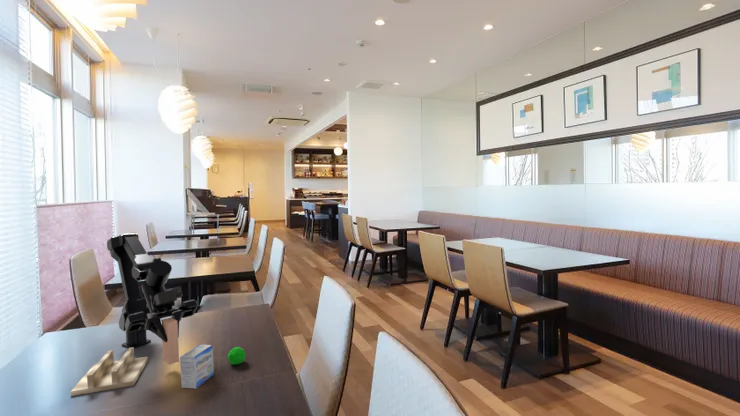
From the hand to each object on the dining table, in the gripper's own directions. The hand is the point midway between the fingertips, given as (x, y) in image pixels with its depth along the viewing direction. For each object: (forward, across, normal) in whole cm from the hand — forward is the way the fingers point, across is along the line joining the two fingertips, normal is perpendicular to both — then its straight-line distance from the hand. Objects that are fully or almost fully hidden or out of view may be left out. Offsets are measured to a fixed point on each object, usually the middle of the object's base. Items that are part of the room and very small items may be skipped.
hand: (172, 339), depth 106 cm
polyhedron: (+14, +14, 0) cm, 20 cm away
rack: (-1, -12, +15) cm, 19 cm away
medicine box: (+15, +2, -1) cm, 15 cm away
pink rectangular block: (+4, 0, +6) cm, 7 cm away
